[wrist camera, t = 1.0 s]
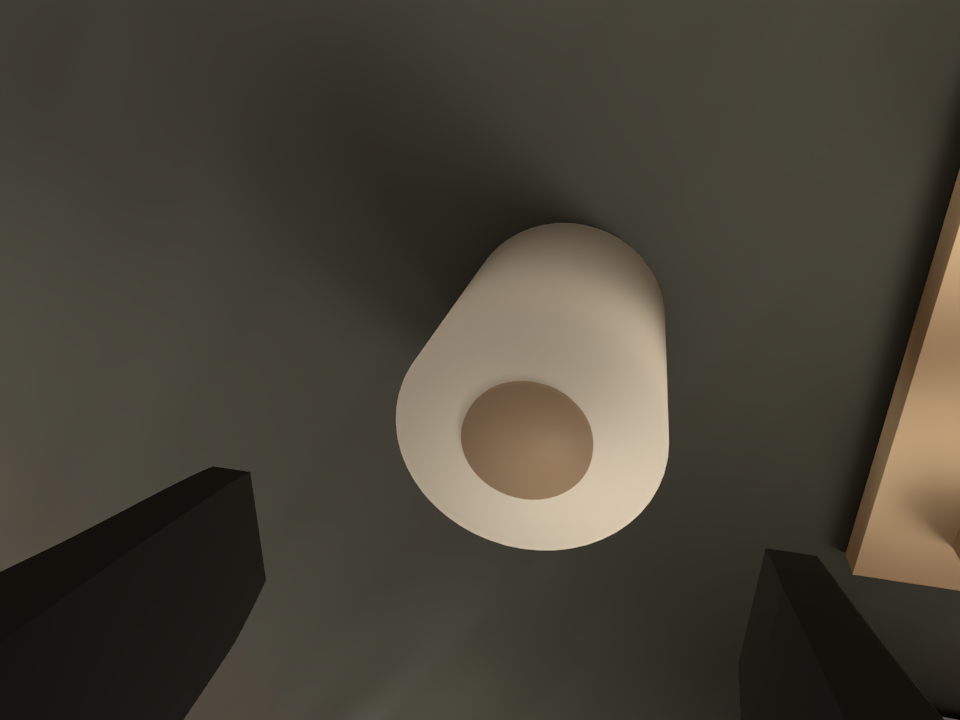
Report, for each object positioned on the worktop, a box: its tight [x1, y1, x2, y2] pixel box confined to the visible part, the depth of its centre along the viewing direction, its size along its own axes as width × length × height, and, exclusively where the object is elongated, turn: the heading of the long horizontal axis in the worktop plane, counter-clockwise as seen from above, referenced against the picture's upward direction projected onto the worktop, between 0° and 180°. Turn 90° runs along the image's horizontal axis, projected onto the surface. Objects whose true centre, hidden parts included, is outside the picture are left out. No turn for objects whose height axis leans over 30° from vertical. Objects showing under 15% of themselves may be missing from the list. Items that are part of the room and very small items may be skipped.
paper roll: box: [396, 223, 669, 550], centre depth 16 cm, size 5×5×6 cm
